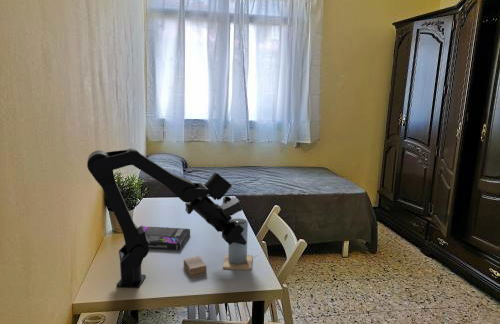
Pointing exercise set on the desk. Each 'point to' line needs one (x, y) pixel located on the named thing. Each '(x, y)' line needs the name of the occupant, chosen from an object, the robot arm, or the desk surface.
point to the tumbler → (239, 245)
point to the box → (166, 237)
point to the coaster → (245, 266)
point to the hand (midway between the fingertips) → (241, 239)
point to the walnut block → (194, 266)
